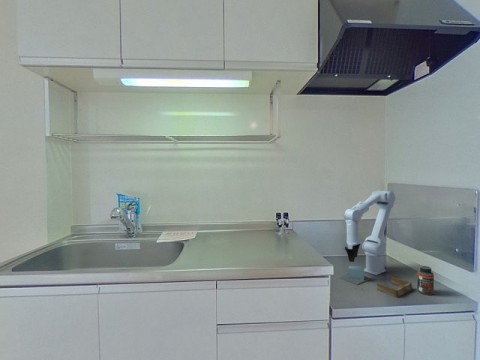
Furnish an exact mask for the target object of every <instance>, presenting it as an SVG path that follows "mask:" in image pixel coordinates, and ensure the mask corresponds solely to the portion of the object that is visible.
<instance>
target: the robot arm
mask: <svg viewBox="0 0 480 360" xmlns="http://www.w3.org/2000/svg"><path fill="white" fill-rule="evenodd" d="M395 201H396V196H395V193H394V191H392V190H378V189H375V190H373V191H372V192H371V195H369V197H368V198H367V199H366V200H364V201H357V202H358V203H357V204H355V205H354V206H352V207H351V208H347V209H346V210H345V211H344V213H343V218H344V220H345V223H346V240H345V241H346V244H347V246H345V247H344V250H345V252H346V255H347V258H348V261H349V262H351V263H355V258H357V257H358V254H359V249H360V246H361V247H362V251H363V252H364V254H365V267H364V272H366V273H369V274H372V275H375V276H378V275H380V274H383V273H384V272H387V269H385V257H384V254H385V251H386V250H385V249H386V242H385V241H384V240H383V237H384V233H385V230H386V227H387V225H388V221H389V218H390V217H389V216H390V214H391V210H392V209H393V208H394V207H393V206H394V204H395ZM374 204H375V205H376V206H377V207H378V209H379V210H378V213H377V216H376V219H375V222H374V225H373V227H372V232H371V234H370V235H369V236H367V237H366V238H365V240H364V242H363V243H362V241H360V229H359V228H360V227H359V226H360V225H359V224H360V223H359V222H360V221H361V219H362V216H363V215H364V214H366V213H367V212H369V209H370V207H371V206H373V205H374Z"/></svg>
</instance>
